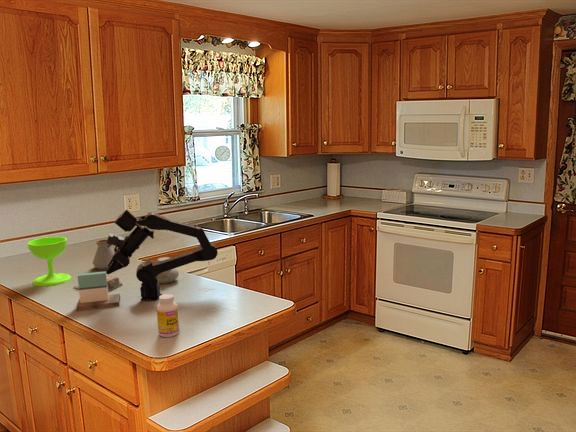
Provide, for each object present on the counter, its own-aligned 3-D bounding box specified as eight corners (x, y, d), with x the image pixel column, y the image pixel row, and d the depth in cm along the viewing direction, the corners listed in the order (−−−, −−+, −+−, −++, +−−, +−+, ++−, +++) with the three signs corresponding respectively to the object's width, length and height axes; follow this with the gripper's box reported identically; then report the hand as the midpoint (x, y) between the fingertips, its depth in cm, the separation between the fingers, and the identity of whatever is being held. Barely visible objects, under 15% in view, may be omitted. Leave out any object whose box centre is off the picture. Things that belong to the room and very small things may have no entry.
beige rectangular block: (108, 297, 212) (107, 284, 211) (108, 300, 209) (106, 286, 208) (81, 300, 209) (79, 287, 208) (80, 303, 207) (78, 289, 206)
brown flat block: (120, 297, 216) (119, 293, 216) (119, 305, 207) (118, 302, 207) (80, 301, 213) (79, 298, 213) (76, 310, 203) (76, 306, 203)
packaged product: (122, 274, 231) (106, 282, 222) (123, 285, 232) (107, 293, 223) (88, 271, 238) (72, 278, 229) (90, 282, 239) (73, 289, 230)
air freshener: (181, 279, 238) (180, 256, 236) (173, 285, 230) (171, 262, 228) (159, 277, 240) (157, 255, 239) (149, 283, 233) (147, 261, 231)
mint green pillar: (107, 283, 210) (105, 271, 210) (106, 285, 208) (105, 273, 207) (79, 286, 208) (78, 274, 207) (78, 288, 206) (77, 275, 205)
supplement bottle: (166, 339, 175) (163, 301, 172) (154, 334, 179) (151, 297, 177) (183, 332, 180) (180, 295, 177) (171, 328, 184) (168, 291, 182)
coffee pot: (90, 267, 261) (87, 236, 258) (114, 262, 267) (112, 232, 264) (102, 277, 243) (98, 245, 240) (127, 272, 249) (124, 240, 246)
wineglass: (54, 273, 252) (49, 235, 249) (79, 277, 245) (75, 238, 242) (24, 283, 238) (18, 243, 234) (50, 288, 231) (45, 246, 227)
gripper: (119, 221, 215) (92, 251, 215) (117, 231, 198) (87, 263, 197) (141, 239, 219) (115, 268, 218) (141, 250, 201) (112, 282, 200)
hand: (107, 270), depth 208 cm, fingers open, 9 cm apart
